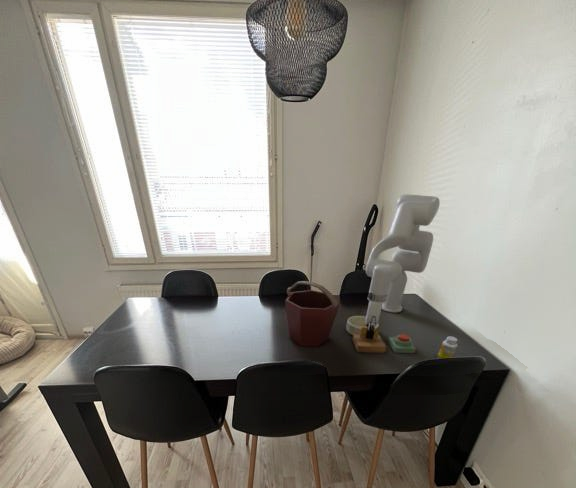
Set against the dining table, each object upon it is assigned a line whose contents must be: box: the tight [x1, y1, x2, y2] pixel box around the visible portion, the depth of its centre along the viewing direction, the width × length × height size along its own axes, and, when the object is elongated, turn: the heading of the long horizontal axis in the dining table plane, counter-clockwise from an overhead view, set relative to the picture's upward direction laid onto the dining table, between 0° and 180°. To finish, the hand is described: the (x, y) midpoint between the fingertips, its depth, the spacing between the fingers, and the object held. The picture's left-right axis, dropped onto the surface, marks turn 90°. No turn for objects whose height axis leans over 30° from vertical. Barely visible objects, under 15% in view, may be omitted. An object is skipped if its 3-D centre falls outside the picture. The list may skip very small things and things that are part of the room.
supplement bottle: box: [436, 336, 458, 359], centre depth 121 cm, size 6×6×10 cm
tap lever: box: [360, 326, 380, 340], centre depth 130 cm, size 8×2×5 cm, turn 76°
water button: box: [398, 333, 410, 342], centre depth 129 cm, size 4×4×2 cm
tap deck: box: [352, 334, 387, 354], centre depth 131 cm, size 13×12×3 cm
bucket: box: [284, 280, 340, 347], centre depth 129 cm, size 24×22×25 cm
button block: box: [387, 334, 417, 354], centre depth 131 cm, size 10×9×4 cm
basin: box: [345, 315, 379, 336], centre depth 141 cm, size 15×15×5 cm
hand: (369, 333), depth 130 cm, fingers open, 9 cm apart
